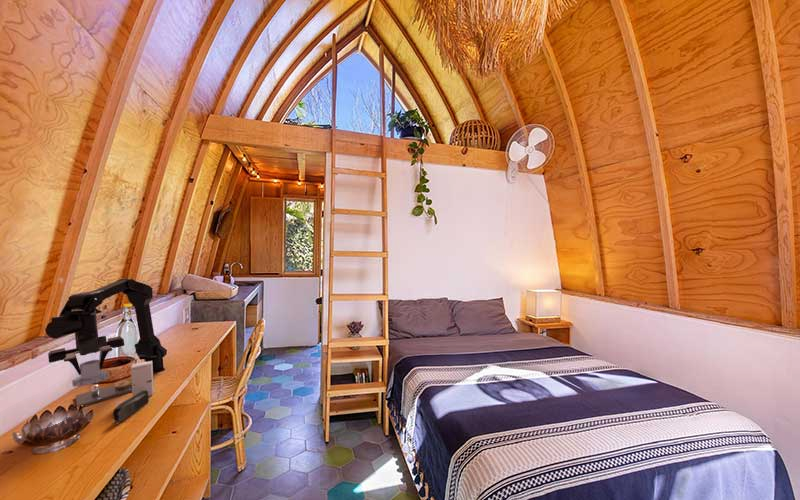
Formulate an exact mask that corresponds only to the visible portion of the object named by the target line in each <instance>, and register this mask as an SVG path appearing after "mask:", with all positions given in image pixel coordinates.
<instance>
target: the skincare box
mask: <svg viewBox="0 0 800 500" xmlns="http://www.w3.org/2000/svg"><path fill="white" fill-rule="evenodd" d="M130 376H131V377H130V379H131V381H132V392H131V395H132V396H131V397H133V396H134V395H136V394H138V393H139V392H141V391H143V390H147V391H148V396H149V397H151V396H153V394H154V391H155V388H154V385H155V384H154V373H153V365H152V361H147V362H144V361H142V362H138V363H132V365H131V367H130Z"/></svg>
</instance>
